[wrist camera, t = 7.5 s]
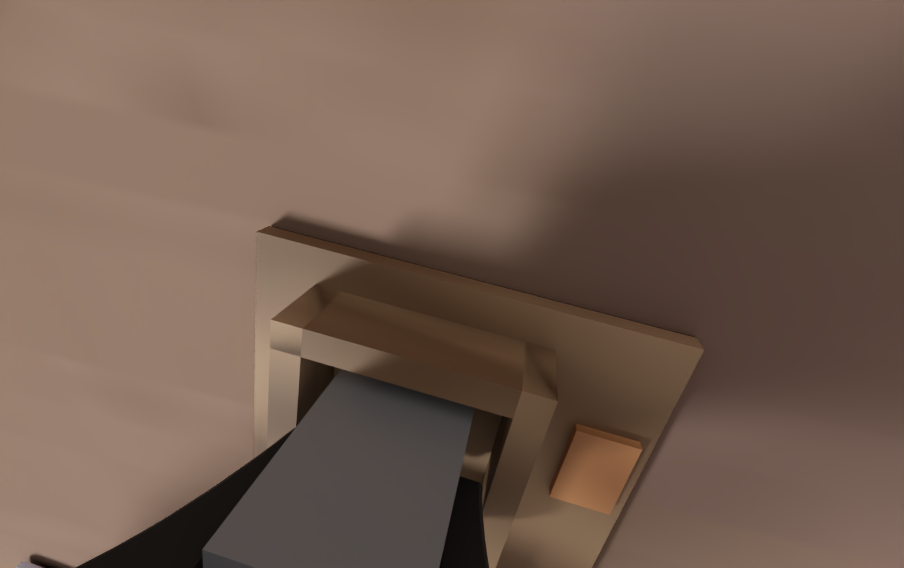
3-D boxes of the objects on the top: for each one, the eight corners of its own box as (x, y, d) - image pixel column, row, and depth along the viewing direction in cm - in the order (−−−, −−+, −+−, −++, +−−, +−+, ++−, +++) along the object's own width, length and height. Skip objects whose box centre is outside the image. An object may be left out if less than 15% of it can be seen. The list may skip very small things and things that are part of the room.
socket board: (518, 694, 19) (514, 786, 16) (259, 602, 20) (217, 675, 17) (696, 338, 11) (741, 405, 9) (269, 225, 12) (198, 257, 10)
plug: (454, 477, 13) (375, 809, 7) (344, 443, 13) (175, 732, 7) (480, 383, 12) (410, 696, 5) (356, 348, 12) (160, 605, 6)
